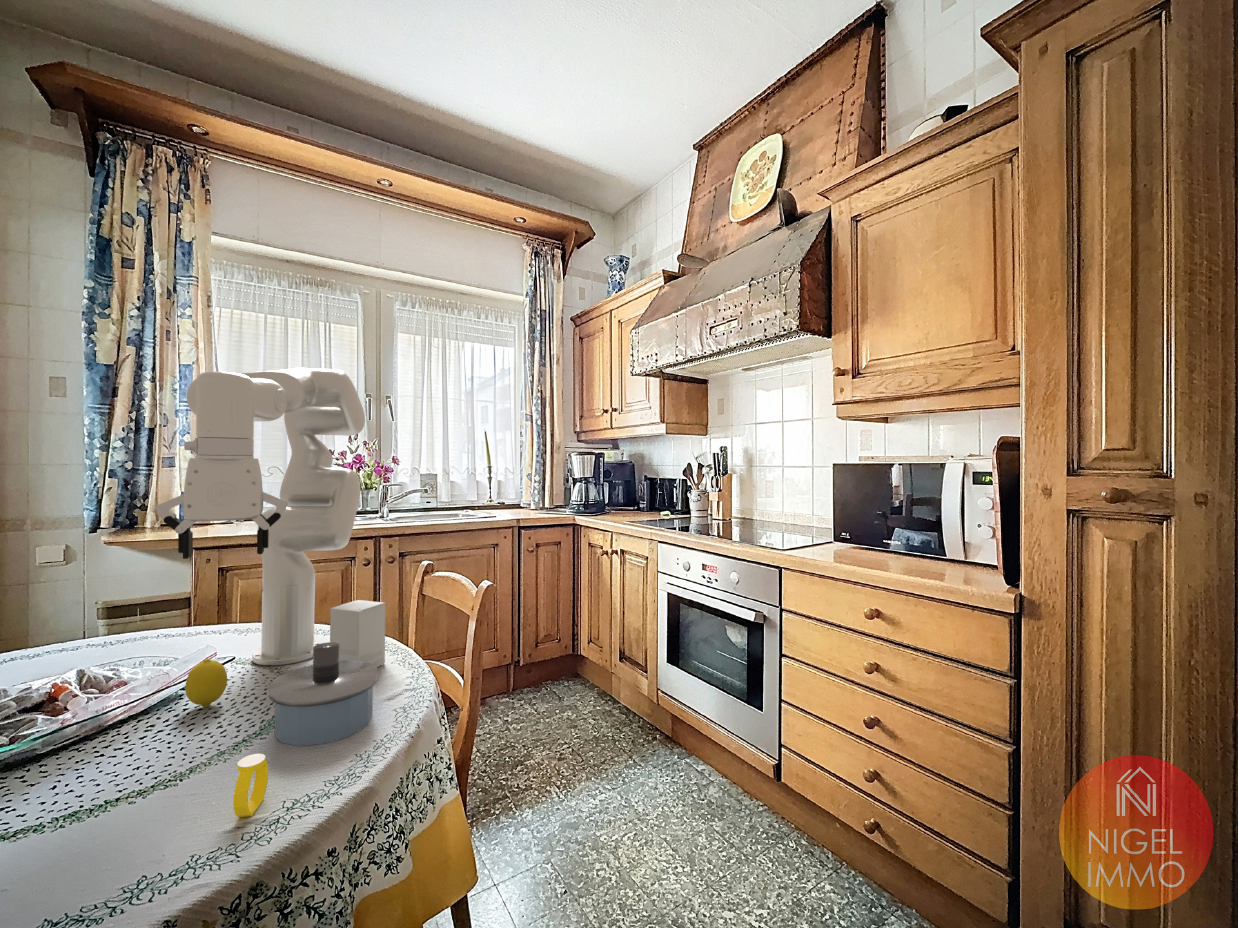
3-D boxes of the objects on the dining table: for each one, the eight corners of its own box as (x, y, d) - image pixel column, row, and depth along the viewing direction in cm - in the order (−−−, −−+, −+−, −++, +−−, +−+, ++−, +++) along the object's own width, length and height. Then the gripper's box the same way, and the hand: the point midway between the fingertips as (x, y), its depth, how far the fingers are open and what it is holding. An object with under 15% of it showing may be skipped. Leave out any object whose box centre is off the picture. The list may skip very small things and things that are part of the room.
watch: (254, 825, 61) (253, 775, 61) (226, 828, 60) (225, 778, 60) (274, 790, 67) (274, 744, 67) (249, 793, 66) (249, 746, 66)
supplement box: (386, 663, 110) (387, 602, 110) (357, 677, 103) (358, 611, 103) (357, 659, 112) (358, 598, 112) (327, 671, 105) (329, 607, 105)
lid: (290, 670, 90) (291, 633, 90) (386, 664, 93) (386, 629, 93) (250, 711, 75) (251, 666, 75) (366, 701, 79) (366, 659, 79)
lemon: (204, 716, 86) (204, 666, 86) (176, 712, 87) (176, 663, 87) (235, 701, 92) (235, 654, 92) (208, 698, 93) (209, 651, 93)
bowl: (294, 708, 89) (295, 672, 89) (378, 702, 92) (379, 667, 92) (261, 749, 77) (261, 707, 77) (359, 740, 79) (360, 699, 79)
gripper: (149, 448, 79) (149, 563, 80) (286, 450, 88) (286, 555, 88) (162, 448, 86) (162, 555, 86) (289, 450, 94) (288, 547, 95)
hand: (225, 555), depth 87 cm, fingers open, 9 cm apart
